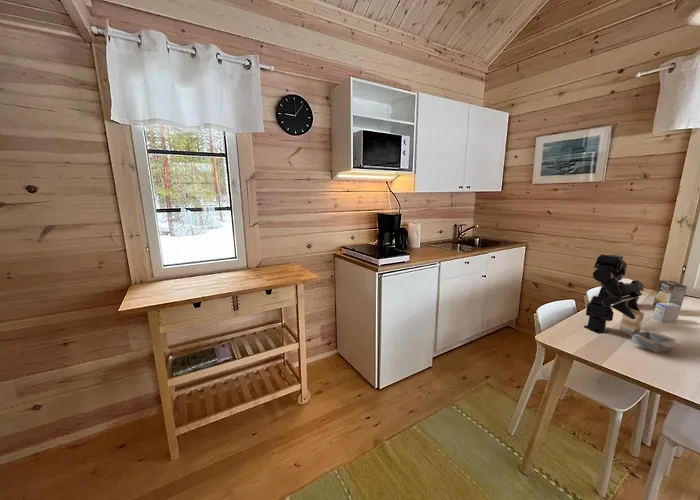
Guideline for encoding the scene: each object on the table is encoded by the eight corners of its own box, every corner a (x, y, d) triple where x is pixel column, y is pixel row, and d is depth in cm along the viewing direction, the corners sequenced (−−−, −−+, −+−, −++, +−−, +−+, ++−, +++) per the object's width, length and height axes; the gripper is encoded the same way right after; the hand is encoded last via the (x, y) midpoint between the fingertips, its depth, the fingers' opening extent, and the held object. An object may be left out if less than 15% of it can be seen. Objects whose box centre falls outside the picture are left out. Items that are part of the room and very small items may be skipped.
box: (632, 335, 116) (637, 314, 114) (619, 330, 120) (623, 310, 118) (639, 333, 118) (644, 313, 115) (626, 328, 122) (630, 308, 120)
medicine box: (666, 318, 147) (671, 302, 145) (676, 322, 143) (681, 306, 141) (652, 318, 147) (656, 302, 145) (661, 322, 143) (665, 306, 141)
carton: (658, 356, 113) (661, 347, 112) (619, 339, 126) (621, 330, 125) (682, 352, 116) (685, 343, 115) (642, 335, 129) (644, 327, 128)
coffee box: (651, 307, 161) (658, 279, 158) (665, 308, 160) (672, 280, 156) (665, 314, 152) (673, 285, 149) (679, 315, 151) (688, 286, 148)
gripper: (617, 276, 113) (647, 313, 106) (641, 271, 121) (671, 306, 114) (590, 289, 122) (616, 324, 115) (614, 283, 130) (640, 316, 122)
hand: (637, 317), depth 116 cm, fingers closed on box, 5 cm apart
